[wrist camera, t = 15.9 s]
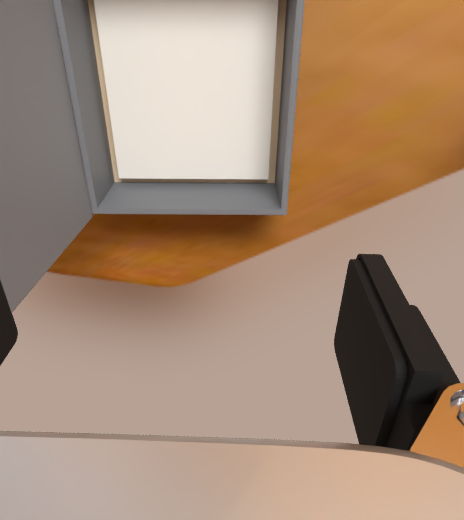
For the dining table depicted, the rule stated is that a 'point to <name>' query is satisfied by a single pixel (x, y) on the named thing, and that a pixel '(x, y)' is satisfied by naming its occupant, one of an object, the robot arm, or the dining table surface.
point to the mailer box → (174, 190)
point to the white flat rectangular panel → (189, 86)
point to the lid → (36, 149)
